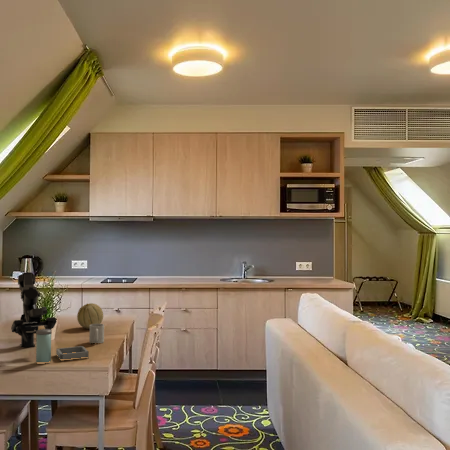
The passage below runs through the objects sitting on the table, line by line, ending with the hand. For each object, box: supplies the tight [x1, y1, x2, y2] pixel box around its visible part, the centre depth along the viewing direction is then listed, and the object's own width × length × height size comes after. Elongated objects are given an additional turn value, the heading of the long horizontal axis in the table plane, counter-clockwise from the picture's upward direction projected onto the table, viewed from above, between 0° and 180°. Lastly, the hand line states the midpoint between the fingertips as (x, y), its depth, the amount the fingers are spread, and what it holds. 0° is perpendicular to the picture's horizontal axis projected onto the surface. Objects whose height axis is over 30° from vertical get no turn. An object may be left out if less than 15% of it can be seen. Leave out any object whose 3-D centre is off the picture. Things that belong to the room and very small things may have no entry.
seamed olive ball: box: [76, 302, 104, 330], centre depth 283 cm, size 15×15×15 cm
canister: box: [35, 328, 53, 363], centre depth 210 cm, size 6×6×14 cm
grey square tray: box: [55, 345, 90, 359], centre depth 220 cm, size 12×12×3 cm
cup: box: [88, 323, 105, 344], centre depth 247 cm, size 7×10×9 cm
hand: (38, 340), depth 216 cm, fingers open, 9 cm apart
